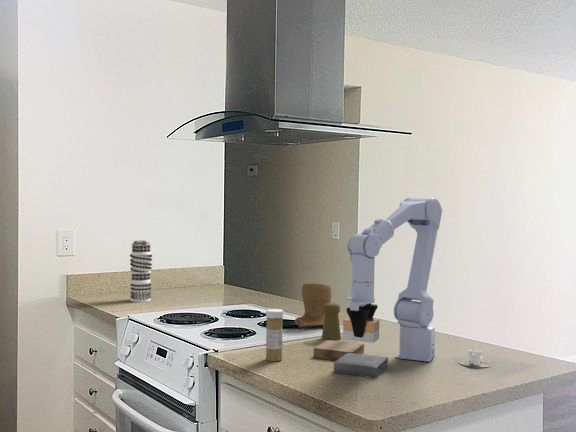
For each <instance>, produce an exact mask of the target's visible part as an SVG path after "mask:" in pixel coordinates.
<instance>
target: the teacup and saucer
mask: <svg viewBox="0 0 576 432" xmlns="http://www.w3.org/2000/svg"><path fill="white" fill-rule="evenodd" d="M467 360H469V361H470V362H469V363H471V364H476V365H477V364H479V365H480V364H481V363H480V361H484V360H483V357H482V350H480V349H474V348H473V349H468V359H467ZM471 364H470V365H471Z"/></svg>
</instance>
